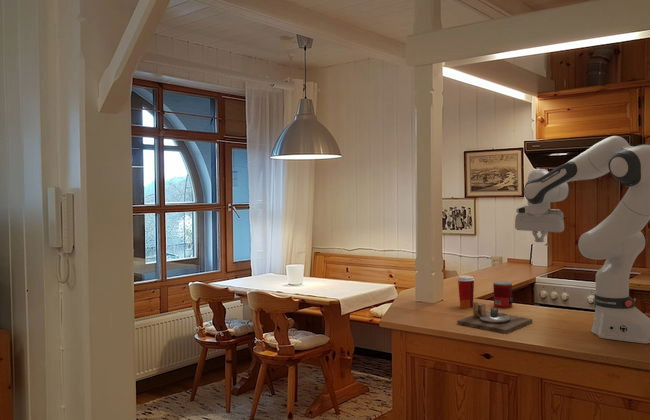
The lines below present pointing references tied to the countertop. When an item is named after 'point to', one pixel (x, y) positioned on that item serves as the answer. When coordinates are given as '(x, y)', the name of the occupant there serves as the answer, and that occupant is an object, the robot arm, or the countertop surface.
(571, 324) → the countertop surface
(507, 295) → the canned food
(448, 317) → the countertop surface
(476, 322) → the base board
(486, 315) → the flange
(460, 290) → the paper cup
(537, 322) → the countertop surface
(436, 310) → the countertop surface
